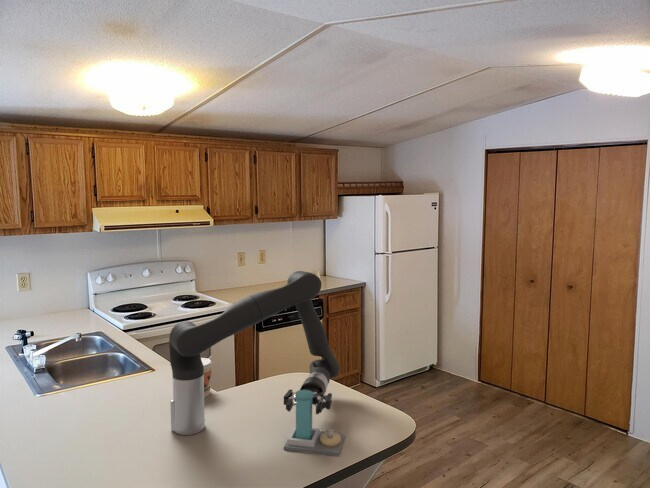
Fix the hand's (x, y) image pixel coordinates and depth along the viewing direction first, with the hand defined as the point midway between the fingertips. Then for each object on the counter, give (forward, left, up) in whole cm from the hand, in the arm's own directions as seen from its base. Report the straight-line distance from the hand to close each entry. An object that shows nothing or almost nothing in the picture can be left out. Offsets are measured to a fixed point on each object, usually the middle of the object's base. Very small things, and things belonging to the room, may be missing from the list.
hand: (302, 409), depth 144 cm
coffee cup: (-44, +26, -11) cm, 53 cm away
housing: (+4, +2, -11) cm, 11 cm away
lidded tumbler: (0, +2, -10) cm, 10 cm away
